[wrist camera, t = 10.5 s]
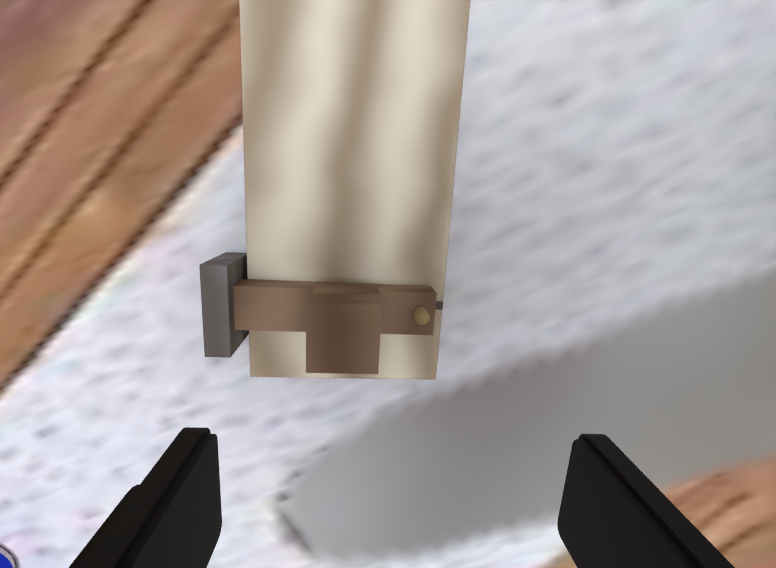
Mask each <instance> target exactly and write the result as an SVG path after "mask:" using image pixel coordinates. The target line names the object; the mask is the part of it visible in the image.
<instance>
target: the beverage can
mask: <svg viewBox="0 0 776 568" xmlns="http://www.w3.org/2000/svg"><path fill="white" fill-rule="evenodd" d="M0 568H15V562H14V559H13V557H12V556H11V555H10V553H8V552H7V551H6V550H5V549H3V548H1V547H0Z"/></svg>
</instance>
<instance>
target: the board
mask: <svg viewBox="0 0 776 568" xmlns="http://www.w3.org/2000/svg"><path fill="white" fill-rule="evenodd" d="M469 8H470V0H240V30H241V65H242V100H243V135H244V171H245V206H246V241H247V276H248V279H254V280H281V281H308V282H316V281H317V282H343V283H370V284H389V285H416V286H432V288H433V289H434V290H435V292H436V293H437V296H436V308H435V319H434V331H433V335H403V334H380V351H379V369H378V374H337V373H306V332H290V331H253V330H249V346H250V377H309V378H367V379H426V380H436V369H437V358H438V348H439V337H440V326H441V315H442V307H443V293H444V282H445V271H446V260H447V249H448V238H449V227H450V216H451V205H452V194H453V183H454V173H455V162H456V151H457V140H458V129H459V118H460V107H461V96H462V85H463V74H464V63H465V52H466V41H467V30H468V19H469Z"/></svg>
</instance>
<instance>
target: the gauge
mask: <svg viewBox="0 0 776 568" xmlns="http://www.w3.org/2000/svg"><path fill="white" fill-rule="evenodd" d="M200 281H201V299H202V316H203V334H204V351H205V357H231V356H232V355H233V354H234V352H235V351H236V350H237V348H238V347H239V346H240V344H241V343H242V342H243V340H244V339H245V338H246V337H247V335H248V334H249V330H253V331H290V332H306V373H337V374H378V369H379V351H380V334H403V335H433V331H434V319H435V308H436V296H437V293H436V292H435V290H434V289H433V288H432V286H416V285H389V284H370V283H343V282H317V281H316V282H308V281H281V280H254V279H248V276H247V253H224V254H222V255H220V256H217V257H215V258H213V259H211V260H209V261H207V262H205V263H203V264H200Z"/></svg>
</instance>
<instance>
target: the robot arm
mask: <svg viewBox="0 0 776 568" xmlns="http://www.w3.org/2000/svg"><path fill="white" fill-rule="evenodd" d="M221 526H222V514H221V496H220V478H219V459H218V441H217V436H216V434H211V433H210V430H209V429H208V428H183V429H182V430H181V431H180V433H179V434H178V435H177V437H176V438H175V439H174V441H173V442H172V443H171V445H170V446H169V447H168V449H167V450H166V451H165V452H164V454H163V455H162V456H161V458H160V459H159V460H158V462H157V463H156V464H155V466H154V467H153V468H152V470H151V471H150V472H149V474H148V475H147V476H146V477H145V479H144V480H143V481H142V483H141V484H140V485H136V486H134V487H132V488H131V489H130V490H129V491H128V492H127V494H126V495H125V496H124V498H123V499H122V500H121V501H120V503H119V504H118V505H117V506H116V508H115V509H114V510H113V512H112V513H111V514H110V515H109V517H108V518H107V519H106V521H105V522H104V523H103V524H102V526H101V527H100V528H99V530H98V531H97V532H96V533H95V535H94V536H93V537H92V538H91V540H90V541H89V542H88V544H87V545H86V546H85V547H84V549H83V550H82V551H81V553H80V554H79V555H78V556H77V558H76V559H75V560H74V561H73V563H72V564H71V565H70V567H69V568H206V567H207V565H208V563H209V560H210V558H211V556H212V553H213V551H214V548H215V546H216V544H217V541H218V539H219V536H220V532H221ZM558 531H559V534H560V537H561V539H562V541H563V543H564V544H565V546H566V548H567V550H568V552H569V553H570V555H571V557H572V559H573V561H574V562H575V564H576V566H577V568H734V567H733V565H732V564H731V563H730V562H729V561H728V560H727V559H726V558H725V557H724V556H723V555H722V554H721V553H720V552H719V551H718V550H717V549H716V548H715V547H714V546H713V545H712V544H711V543H710V542H709V541H708V540H707V539H706V538H705V537H704V536H703V535H702V534H701V532H700V531H699V530H698V529H697V528H696V527H695V526H694V525H693V524H692V523H691V522H690V521H689V520H688V519H687V518H686V517H685V516H684V515H683V514H682V513H681V512H680V511H679V510H678V509H677V508H676V507H675V506H674V505H673V504H672V503H671V502H670V501H669V500H668V498H667V497H666V496H665V495H664V494H663V493H662V492H661V491H660V490H659V489H658V488H657V487H656V486H655V485H654V484H653V483H652V482H651V481H650V480H649V479H648V478H647V477H646V476H645V475H644V474H643V473H642V472H641V471H640V470H639V469H638V468H637V467H636V466H635V464H634V463H633V462H632V461H631V460H630V459H629V458H628V457H626V455H625V454H624V453H623V452H622V451H621V450H620V449H619V448H618V447H617V446H616V445H615V444H614V443H613V442H612V441H611V440H610V439H609V438H608V437H607V436H606V435H603V434H581V435H580V436H579V438H578V439H576V440H574V442H573V444H572V450H571V454H570V460H569V466H568V470H567V475H566V481H565V486H564V491H563V496H562V502H561V506H560V511H559V517H558Z"/></svg>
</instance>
